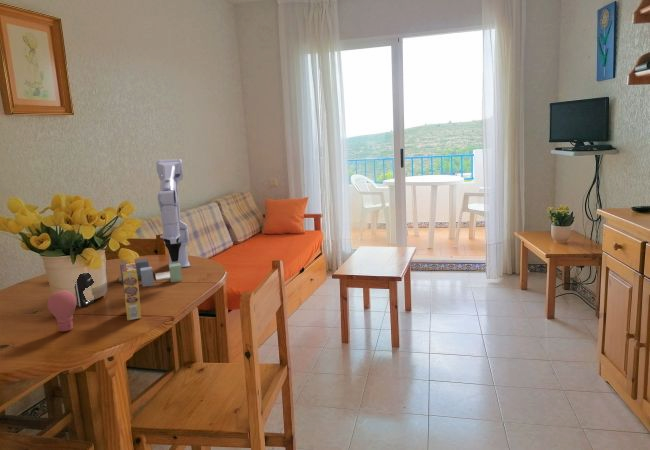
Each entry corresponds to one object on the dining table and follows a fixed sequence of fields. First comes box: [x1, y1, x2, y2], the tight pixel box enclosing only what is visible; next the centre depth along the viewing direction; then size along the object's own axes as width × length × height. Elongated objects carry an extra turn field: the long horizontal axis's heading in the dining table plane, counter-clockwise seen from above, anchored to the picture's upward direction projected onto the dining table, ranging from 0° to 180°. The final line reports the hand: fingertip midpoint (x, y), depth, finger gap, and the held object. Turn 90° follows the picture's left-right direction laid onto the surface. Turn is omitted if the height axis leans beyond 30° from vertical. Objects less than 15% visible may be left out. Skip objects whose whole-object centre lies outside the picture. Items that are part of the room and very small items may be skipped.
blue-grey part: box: [140, 266, 155, 288], centre depth 172 cm, size 4×4×6 cm
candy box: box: [121, 263, 142, 321], centre depth 142 cm, size 9×4×15 cm, turn 24°
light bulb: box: [47, 289, 77, 332], centre depth 132 cm, size 7×7×12 cm
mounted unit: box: [118, 258, 150, 284], centre depth 181 cm, size 7×12×6 cm, turn 112°
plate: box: [154, 270, 170, 281], centre depth 182 cm, size 8×8×1 cm
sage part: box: [168, 263, 183, 283], centre depth 176 cm, size 4×4×6 cm
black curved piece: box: [74, 273, 95, 308], centre depth 154 cm, size 7×4×11 cm, turn 178°
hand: (174, 258), depth 175 cm, fingers open, 7 cm apart
